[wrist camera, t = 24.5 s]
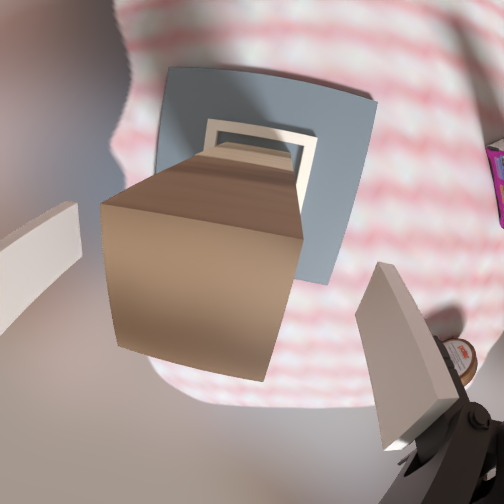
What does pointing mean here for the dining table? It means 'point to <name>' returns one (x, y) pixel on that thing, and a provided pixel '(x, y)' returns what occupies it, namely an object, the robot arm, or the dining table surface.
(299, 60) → the dining table surface
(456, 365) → the tin
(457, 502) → the robot arm
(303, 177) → the square frame
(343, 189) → the baseboard
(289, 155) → the birch block
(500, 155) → the candy bar box
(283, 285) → the walnut block
